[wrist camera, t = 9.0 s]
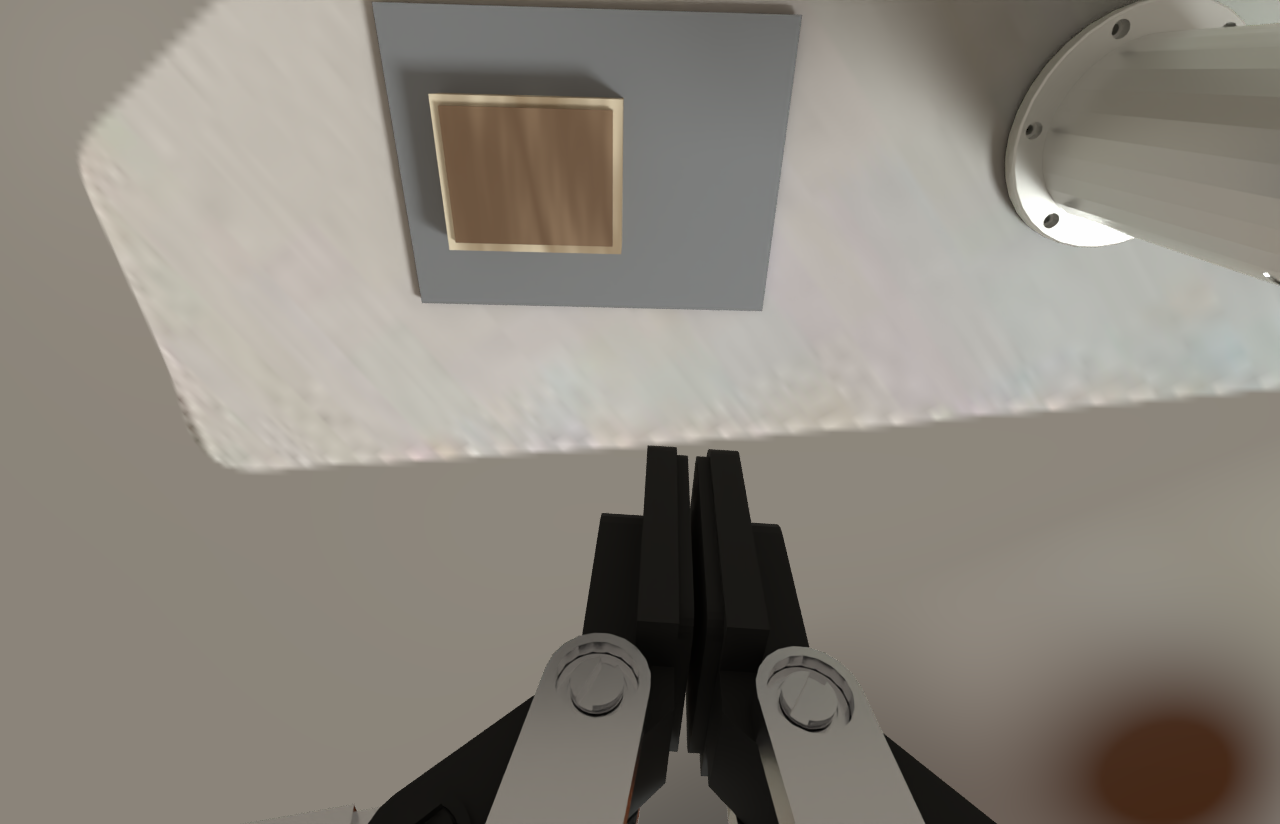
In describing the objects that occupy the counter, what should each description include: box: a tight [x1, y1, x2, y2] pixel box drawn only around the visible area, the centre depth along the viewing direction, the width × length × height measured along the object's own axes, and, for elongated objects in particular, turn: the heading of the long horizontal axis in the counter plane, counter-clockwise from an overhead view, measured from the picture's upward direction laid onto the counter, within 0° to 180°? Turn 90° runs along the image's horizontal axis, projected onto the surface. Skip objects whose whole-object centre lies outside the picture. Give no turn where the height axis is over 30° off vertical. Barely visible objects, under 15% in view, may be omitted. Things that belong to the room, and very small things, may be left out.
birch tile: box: [428, 93, 624, 254], centre depth 33 cm, size 2×8×10 cm
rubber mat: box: [372, 2, 802, 311], centre depth 34 cm, size 22×16×1 cm
